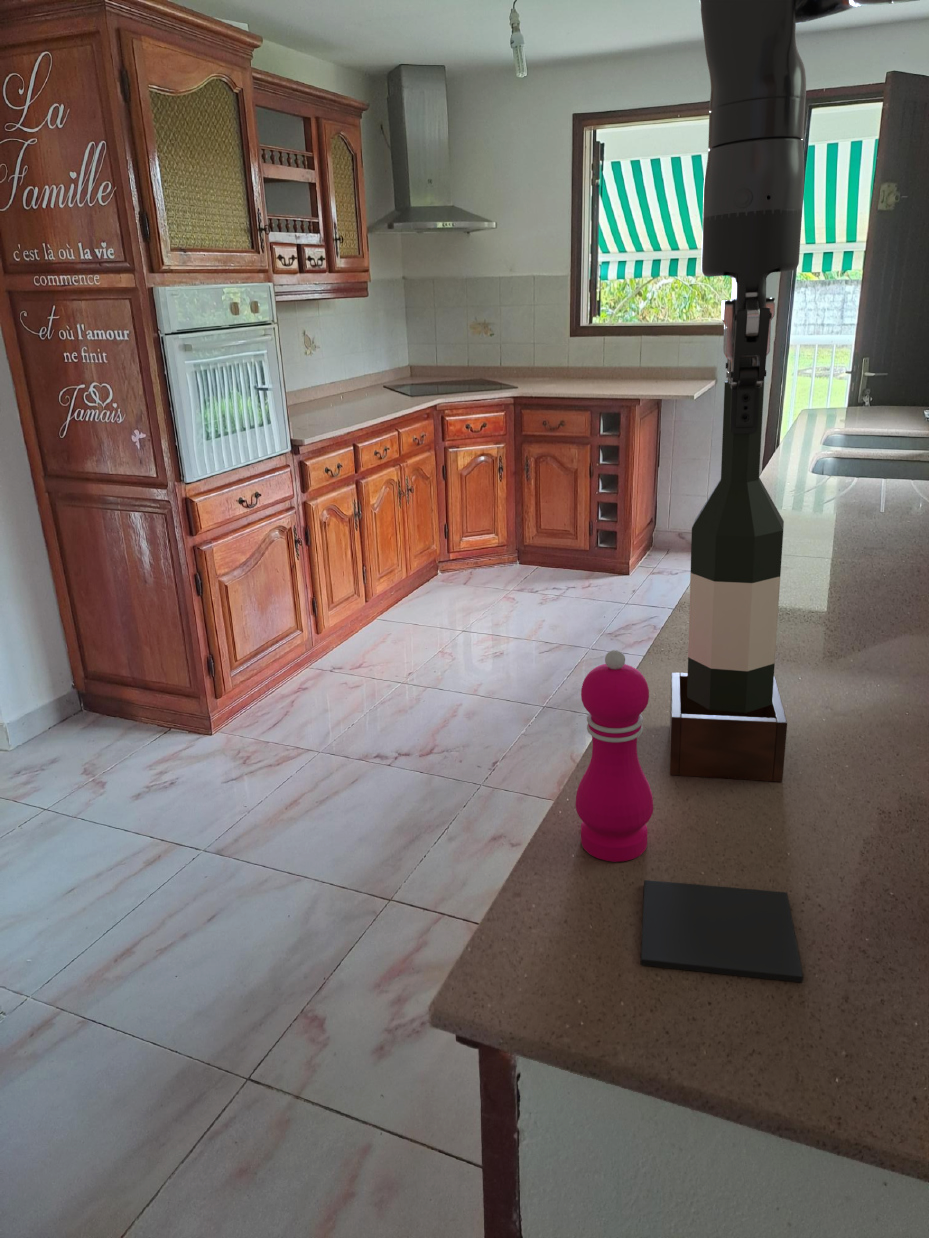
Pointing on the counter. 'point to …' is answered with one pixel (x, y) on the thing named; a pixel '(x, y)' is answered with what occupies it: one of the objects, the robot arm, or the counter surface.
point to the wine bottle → (735, 581)
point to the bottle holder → (725, 738)
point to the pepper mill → (614, 763)
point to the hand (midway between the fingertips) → (742, 428)
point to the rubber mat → (719, 931)
